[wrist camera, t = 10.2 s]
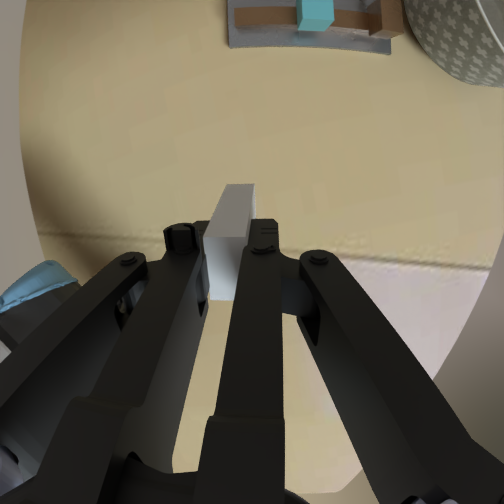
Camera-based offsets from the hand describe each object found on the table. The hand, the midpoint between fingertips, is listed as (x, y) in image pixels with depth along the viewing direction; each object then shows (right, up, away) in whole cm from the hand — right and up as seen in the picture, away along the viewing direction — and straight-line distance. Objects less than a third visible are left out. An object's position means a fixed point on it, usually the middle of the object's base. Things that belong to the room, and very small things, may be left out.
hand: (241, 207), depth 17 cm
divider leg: (+7, +27, +11) cm, 30 cm away
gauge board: (+8, +28, +12) cm, 32 cm away
